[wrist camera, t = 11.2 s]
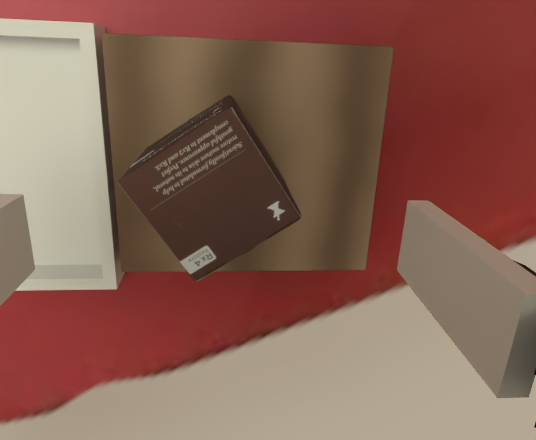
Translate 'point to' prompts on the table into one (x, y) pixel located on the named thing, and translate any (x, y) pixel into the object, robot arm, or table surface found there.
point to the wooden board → (267, 129)
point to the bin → (59, 151)
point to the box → (211, 189)
